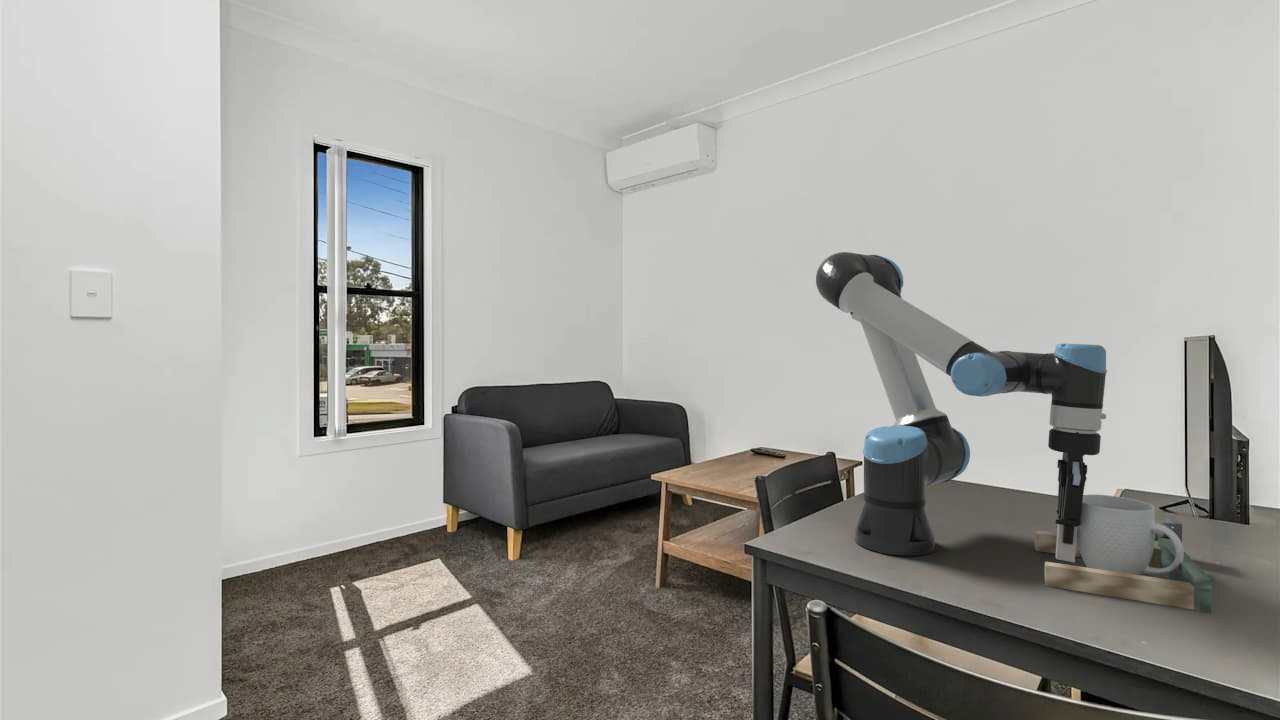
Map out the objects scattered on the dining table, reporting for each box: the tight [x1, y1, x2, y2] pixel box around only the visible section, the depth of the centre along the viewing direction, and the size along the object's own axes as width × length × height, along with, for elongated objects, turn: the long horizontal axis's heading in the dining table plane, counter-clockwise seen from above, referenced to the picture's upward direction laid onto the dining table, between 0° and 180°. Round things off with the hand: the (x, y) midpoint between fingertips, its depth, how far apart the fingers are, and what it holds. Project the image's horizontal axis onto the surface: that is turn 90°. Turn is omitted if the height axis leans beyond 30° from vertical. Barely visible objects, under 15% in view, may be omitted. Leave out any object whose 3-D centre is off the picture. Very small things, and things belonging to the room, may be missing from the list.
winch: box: [1154, 515, 1183, 546], centre depth 115 cm, size 8×6×8 cm
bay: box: [1034, 529, 1213, 613], centre depth 106 cm, size 21×21×5 cm
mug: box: [1077, 494, 1185, 576], centre depth 105 cm, size 15×11×13 cm
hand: (1065, 559), depth 109 cm, fingers closed
